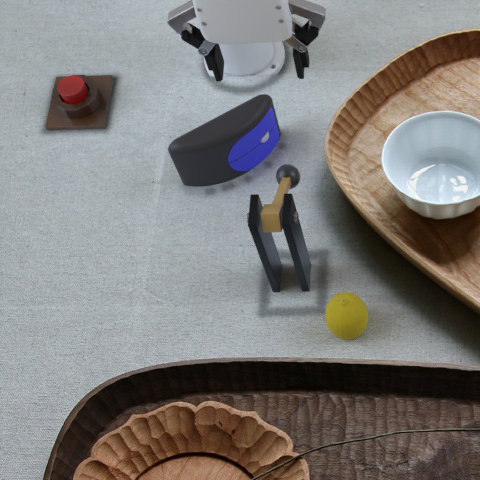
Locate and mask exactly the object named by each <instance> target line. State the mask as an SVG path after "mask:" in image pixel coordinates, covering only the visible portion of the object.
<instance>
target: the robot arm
mask: <svg viewBox="0 0 480 480" xmlns="http://www.w3.org/2000/svg"><path fill="white" fill-rule="evenodd" d="M326 13H327V9H326V7H325V6H323V5H320V4H317V3H315V2H311V1H309V0H188V1H186V2H185V3H182V4H181V5H180V6H177V7H176V8H174V9H172V10H170V11H169V12H168V13H167V21H166V23H167V25H168V26H169V28H171V29H172V30H173V31H174V32H175V33H176V34H178V35H180V37H181V40H182V41H183V42H184V43H186V44H189V45H190V46H192V47H193V48H195V49H196V50H197V53H198V54H199V55H200V56H203V64H204V67H205V69H206V72H207V75H208V76H209V77H212V78H213V77H214V80H215V82H218V83H219V82H222V81H223V79H224V77H239V78H240V77H241V78H242V77H248V76H275V75H278V74H279V72H280V71H281V70H282V68H283V66H284V64H285V59H286V51H285V46H284V43H283V42H285V43H286V44H287V45H288V46H290V47H291V48H292V59H293V63H294V68H295V72H296V77H297V78H298V79H299V80H304V79H305V68H310V55H309V54H310V53H309V49H308V46H309V45H310V44H312V43H313V42H314V40H316V39H317V38H318V37H319V33H320V31H321V30H322V28H323V25H324V23H325V21H326V17H327V16H326ZM292 15H295V16H298V17H300V18H304V19H306V20H307V22H305V23H304V24H303V23H302V22H300V21H299V20H297V19H296V18H295V17H293V16H292ZM195 18H196V22H197V25H198V27H197V26H195V25H194V24H192V23H191V22H190V21H192V20H193V19H195Z"/></svg>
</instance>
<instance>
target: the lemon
mask: <svg viewBox="0 0 480 480" xmlns="http://www.w3.org/2000/svg"><path fill="white" fill-rule="evenodd" d="M324 313H325V314H324V318H325V323H326V326H327V328H328V329H329V331H330V332H331V333H332V334H333V336H334V337H337V338H338V339H342V340H348V341H349V340H354V339H356V338H359V337H360V336H361V335H363V333H364V332H365V331H366V328H367V327H368V323H369V311H368V308H367V305H366V303H365V302H364V300H363V299H362V298H361V297H360V296H359V295H357V294H355V293H354V292H348V291H344V292H343V291H342V292H339V293H337V294H335V295H333V296H332V297H331V298H330V299H329V301H328V302H327V303H326V307H325V312H324Z"/></svg>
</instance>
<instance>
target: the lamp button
mask: <svg viewBox="0 0 480 480" xmlns="http://www.w3.org/2000/svg"><path fill="white" fill-rule="evenodd" d="M75 75H76V74H72V76H71V75H67V77H65V78H63V79H62V80H61V81H60V82H59V84H58V92H59V93H60V95H61V97H62V98H63V100H64V101H65V102H66V103H69V104H77V103H79V102H81V101H83V100H84V99H85V98H86V97H87V95H88V88H87V87H86V85H85V83H84V81H83V79H82V78H80V77H79V76H75Z"/></svg>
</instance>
